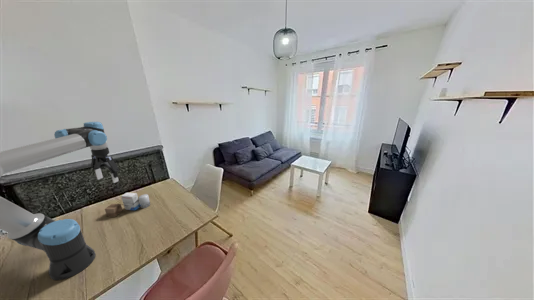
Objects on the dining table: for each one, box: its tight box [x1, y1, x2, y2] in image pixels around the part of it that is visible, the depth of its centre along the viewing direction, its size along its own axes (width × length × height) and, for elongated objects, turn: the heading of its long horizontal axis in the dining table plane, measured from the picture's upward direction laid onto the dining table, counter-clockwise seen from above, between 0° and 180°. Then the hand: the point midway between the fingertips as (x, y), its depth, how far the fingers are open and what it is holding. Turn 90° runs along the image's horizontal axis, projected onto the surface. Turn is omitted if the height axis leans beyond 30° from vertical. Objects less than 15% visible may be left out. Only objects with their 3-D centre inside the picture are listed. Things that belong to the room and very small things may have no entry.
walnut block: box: [104, 203, 123, 218], centre depth 118 cm, size 6×6×6 cm
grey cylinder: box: [138, 193, 151, 209], centre depth 127 cm, size 6×6×8 cm
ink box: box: [120, 192, 141, 211], centre depth 123 cm, size 9×5×12 cm, turn 84°
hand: (108, 180), depth 107 cm, fingers open, 13 cm apart
